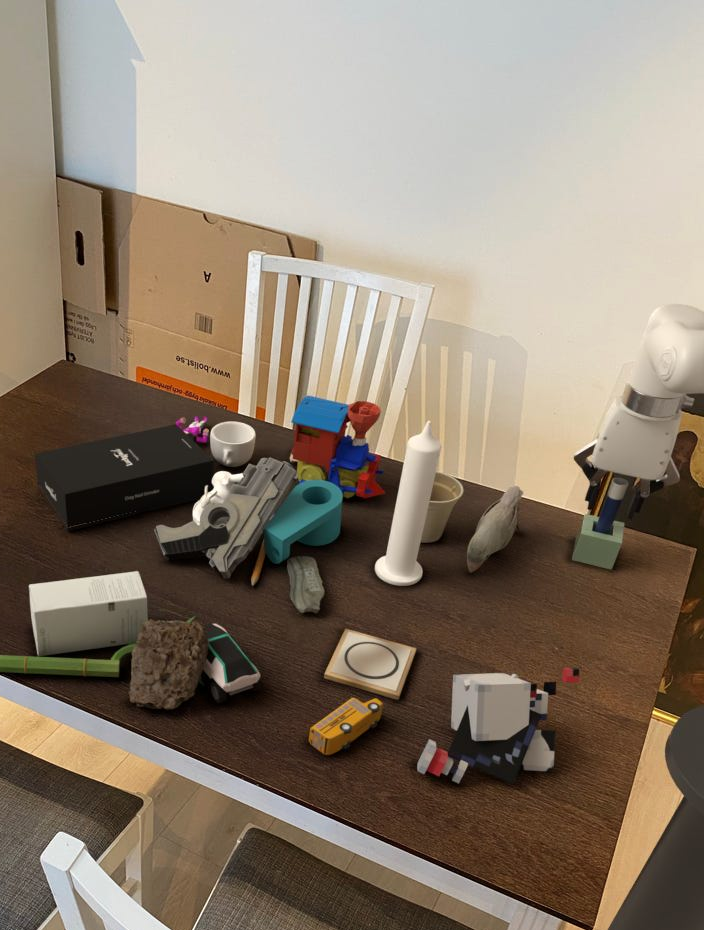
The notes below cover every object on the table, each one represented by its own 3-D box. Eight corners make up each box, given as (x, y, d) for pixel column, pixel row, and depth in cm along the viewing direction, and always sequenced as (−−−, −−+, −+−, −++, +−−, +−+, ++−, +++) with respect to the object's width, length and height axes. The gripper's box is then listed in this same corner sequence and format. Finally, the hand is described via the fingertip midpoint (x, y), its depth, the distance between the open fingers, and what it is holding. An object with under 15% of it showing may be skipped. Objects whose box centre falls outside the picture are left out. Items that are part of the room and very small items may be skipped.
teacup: (215, 446, 166) (216, 418, 162) (257, 452, 165) (259, 425, 161) (201, 474, 159) (202, 446, 155) (246, 481, 158) (248, 453, 154)
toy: (474, 622, 117) (589, 672, 115) (416, 744, 120) (526, 794, 118) (482, 636, 105) (610, 692, 103) (416, 771, 108) (539, 827, 107)
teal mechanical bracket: (353, 495, 142) (316, 473, 146) (282, 540, 136) (245, 516, 140) (350, 529, 147) (314, 507, 151) (281, 574, 140) (246, 550, 144)
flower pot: (417, 509, 154) (427, 462, 148) (463, 534, 149) (476, 488, 143) (380, 529, 149) (388, 482, 143) (427, 556, 144) (437, 509, 138)
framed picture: (415, 652, 127) (417, 647, 126) (398, 700, 120) (399, 694, 119) (344, 632, 129) (345, 627, 129) (323, 678, 122) (324, 672, 122)
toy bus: (386, 702, 115) (362, 687, 117) (334, 742, 110) (309, 725, 112) (383, 721, 117) (359, 705, 119) (331, 761, 112) (307, 744, 114)
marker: (601, 552, 147) (629, 479, 138) (600, 560, 145) (628, 487, 137) (586, 548, 147) (613, 476, 139) (585, 556, 146) (611, 483, 137)
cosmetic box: (149, 641, 126) (39, 662, 123) (139, 612, 130) (32, 631, 127) (148, 594, 120) (31, 614, 117) (137, 565, 125) (24, 584, 121)
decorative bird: (452, 567, 142) (463, 526, 137) (490, 520, 152) (501, 480, 148) (486, 580, 140) (498, 539, 135) (522, 531, 150) (534, 491, 145)
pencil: (272, 519, 150) (250, 590, 136) (270, 514, 150) (247, 584, 136) (278, 517, 150) (256, 588, 136) (275, 512, 149) (253, 583, 135)
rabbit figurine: (220, 500, 153) (222, 447, 147) (260, 514, 150) (265, 461, 144) (180, 534, 145) (181, 480, 139) (222, 551, 142) (225, 496, 136)
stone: (328, 603, 130) (293, 607, 130) (328, 615, 131) (293, 618, 131) (315, 554, 140) (282, 557, 140) (315, 565, 141) (282, 569, 141)
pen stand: (614, 549, 148) (624, 522, 144) (611, 570, 143) (622, 543, 140) (575, 539, 149) (584, 513, 146) (571, 560, 145) (581, 533, 142)
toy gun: (142, 542, 139) (225, 585, 134) (216, 428, 142) (300, 465, 137) (149, 552, 142) (231, 594, 137) (221, 440, 145) (304, 477, 140)
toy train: (303, 462, 163) (312, 381, 153) (392, 483, 159) (407, 402, 149) (283, 490, 156) (292, 408, 146) (376, 514, 152) (391, 430, 142)
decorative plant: (-38, 659, 115) (206, 670, 116) (-27, 604, 120) (207, 615, 121) (-30, 684, 120) (204, 695, 122) (-20, 631, 125) (205, 641, 126)
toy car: (220, 710, 117) (223, 679, 114) (178, 651, 125) (179, 621, 121) (261, 695, 119) (265, 665, 116) (217, 639, 127) (219, 608, 124)
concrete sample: (203, 614, 114) (209, 616, 119) (122, 618, 116) (131, 620, 121) (208, 708, 114) (213, 706, 119) (126, 711, 115) (135, 709, 120)
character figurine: (187, 427, 173) (164, 450, 163) (189, 400, 170) (166, 422, 160) (216, 433, 172) (195, 457, 162) (219, 407, 169) (198, 430, 159)
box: (67, 531, 144) (64, 494, 140) (38, 489, 153) (34, 453, 149) (212, 496, 154) (213, 460, 149) (176, 458, 163) (176, 423, 158)
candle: (421, 589, 138) (457, 437, 121) (373, 583, 138) (402, 430, 122) (421, 561, 143) (455, 411, 126) (375, 555, 144) (403, 405, 127)
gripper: (717, 400, 129) (670, 511, 141) (590, 375, 134) (555, 485, 146) (717, 424, 124) (668, 537, 136) (585, 397, 128) (549, 509, 140)
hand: (610, 509), depth 141 cm, fingers open, 5 cm apart
